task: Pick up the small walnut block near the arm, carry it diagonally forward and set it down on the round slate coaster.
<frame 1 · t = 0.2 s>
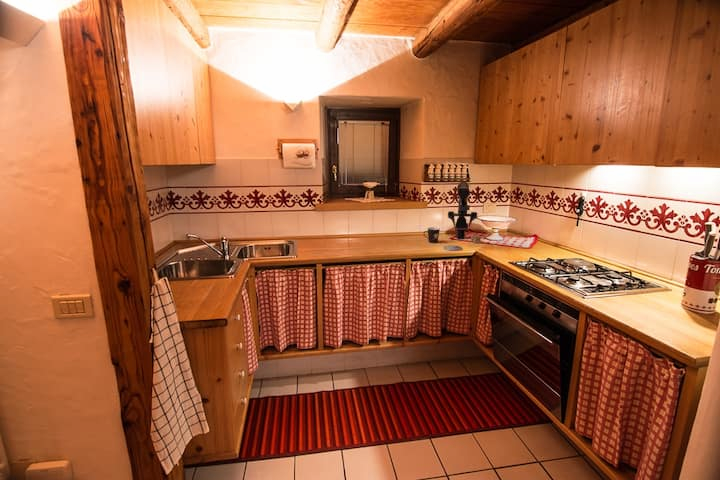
hand: (461, 227, 234), 15 cm above the worktop, tool tilted 30°, fingers open, 9 cm apart
coaster: (452, 248, 238), on the worktop
block: (475, 242, 253), on the worktop
coffee mug: (431, 242, 256), on the worktop
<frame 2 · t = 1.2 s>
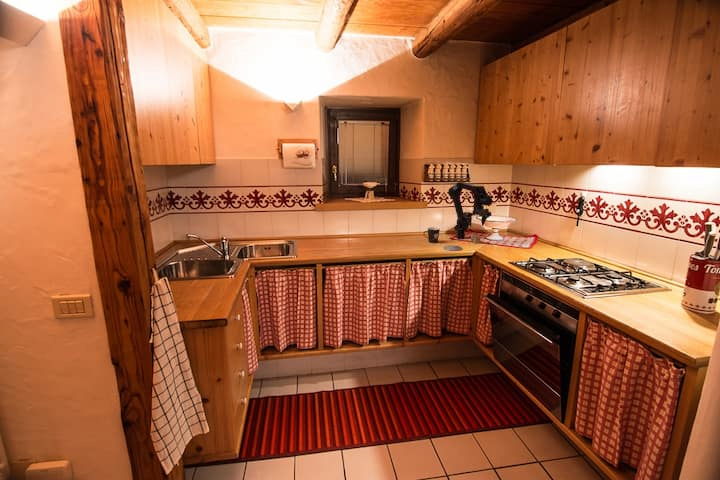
hand: (476, 226, 250), 12 cm above the worktop, tool pointing down, fingers open, 9 cm apart
nothing on the worktop moved.
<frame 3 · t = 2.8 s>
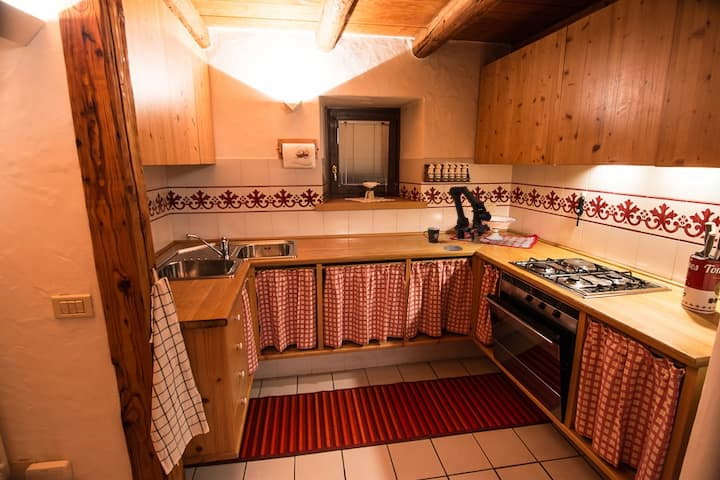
hand: (475, 240, 253), 1 cm above the worktop, tool pointing down, fingers closed on block, 4 cm apart
block: (475, 242, 253), on the worktop, touching gripper
everything else where it was.
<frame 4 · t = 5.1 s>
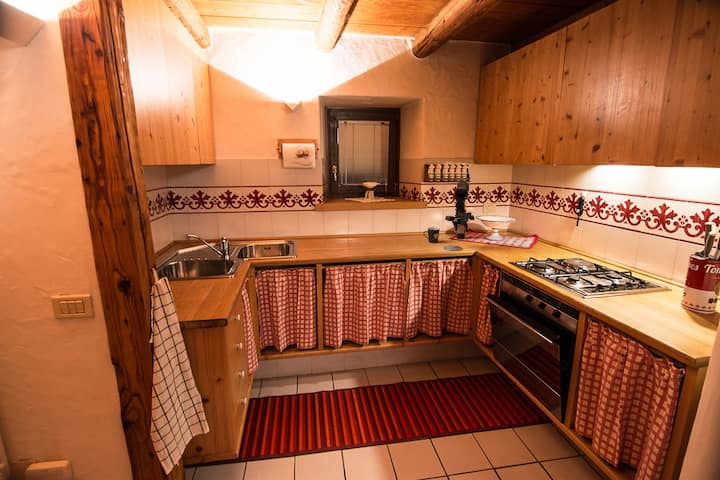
hand: (459, 230, 238), 12 cm above the worktop, tool pointing down, fingers closed on block, 4 cm apart
block: (459, 232, 238), point 10 cm above the worktop, touching gripper
everything else where it was.
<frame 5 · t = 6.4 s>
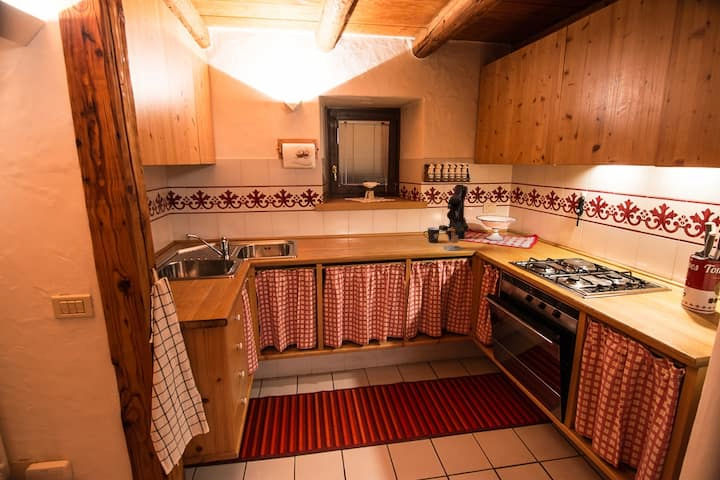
hand: (453, 240, 237), 6 cm above the worktop, tool pointing down, fingers closed on block, 4 cm apart
block: (452, 241, 237), point 5 cm above the worktop, touching gripper
everything else where it was.
when the fingers open (3 cm above the worktop, at t = 7.2 s): block stays where it is, resting on coaster.
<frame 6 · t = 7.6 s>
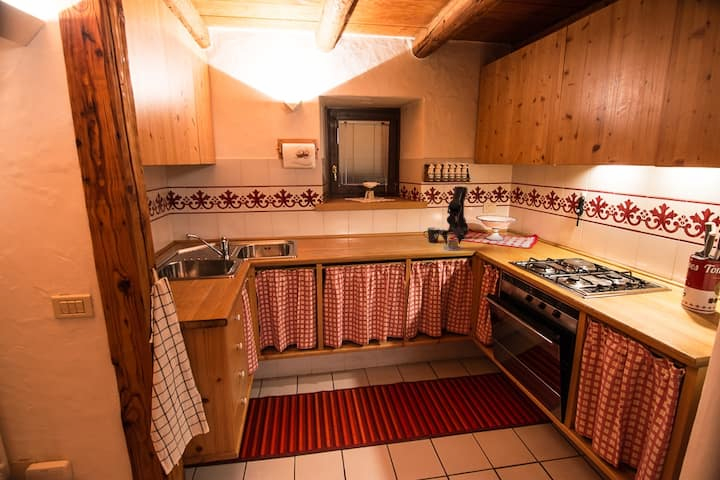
hand: (452, 244, 237), 3 cm above the worktop, tool pointing down, fingers open, 9 cm apart
block: (452, 247, 238), point 1 cm above the worktop, touching coaster
everything else where it was.
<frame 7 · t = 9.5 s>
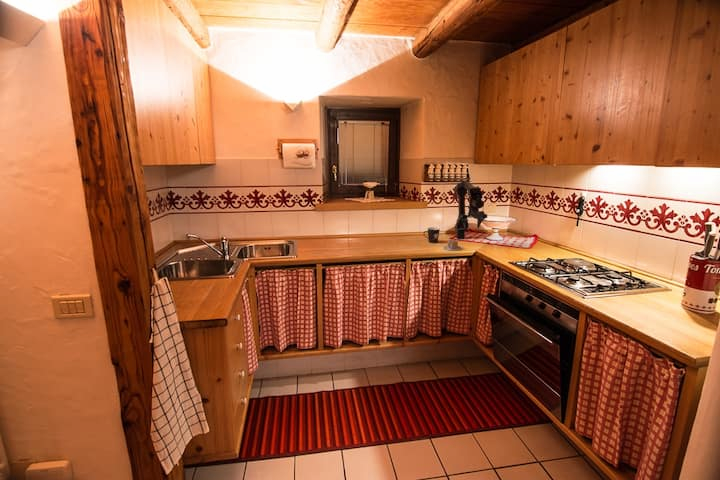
hand: (471, 228, 244), 12 cm above the worktop, tool pointing down, fingers open, 9 cm apart
nothing on the worktop moved.
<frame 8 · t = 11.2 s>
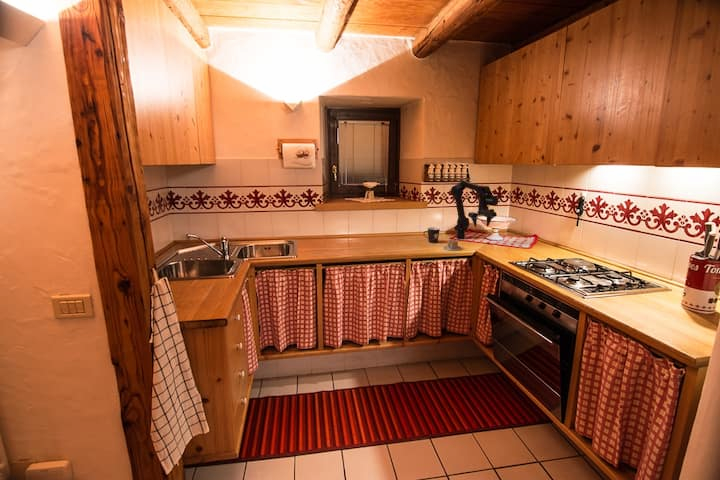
hand: (481, 226, 248), 12 cm above the worktop, tool pointing down, fingers open, 9 cm apart
nothing on the worktop moved.
at the end: block 0.1 cm from the coaster (horizontally); block point 0.6 cm above the worktop; block tilted 0° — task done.
